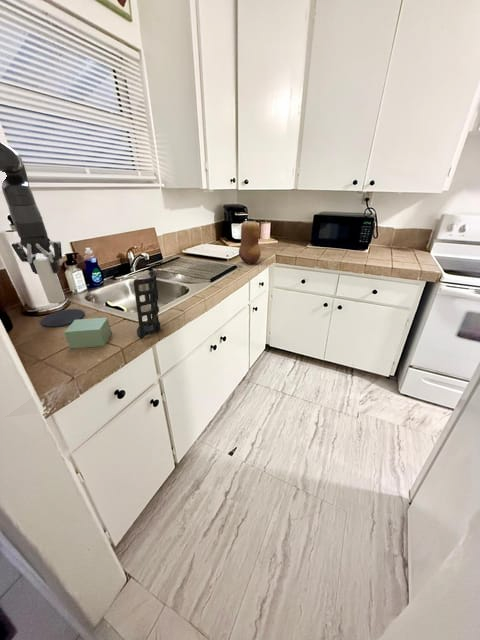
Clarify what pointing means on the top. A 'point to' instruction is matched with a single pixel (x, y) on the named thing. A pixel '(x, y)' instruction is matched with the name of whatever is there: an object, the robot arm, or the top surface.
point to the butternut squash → (250, 242)
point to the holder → (153, 292)
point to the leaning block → (88, 333)
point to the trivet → (62, 318)
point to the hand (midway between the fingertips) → (47, 272)
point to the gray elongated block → (49, 280)
